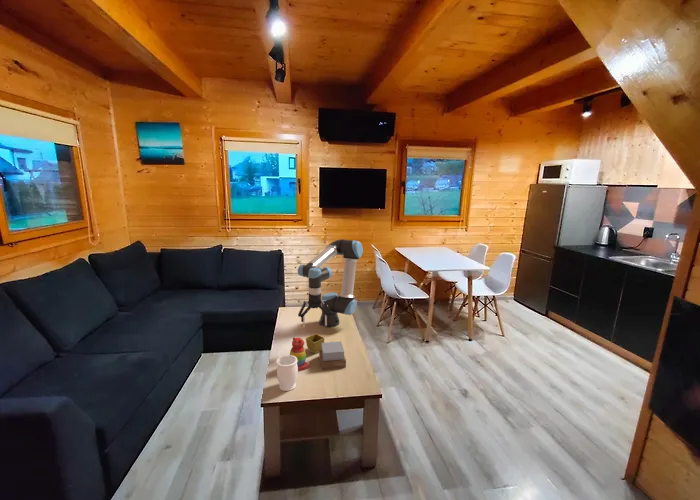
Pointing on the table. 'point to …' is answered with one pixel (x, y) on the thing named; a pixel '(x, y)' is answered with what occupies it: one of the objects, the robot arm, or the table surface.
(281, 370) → the jar
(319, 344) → the flower pot
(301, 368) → the stacking bear
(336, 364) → the walnut base slab
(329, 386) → the table surface
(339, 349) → the grey top slab
